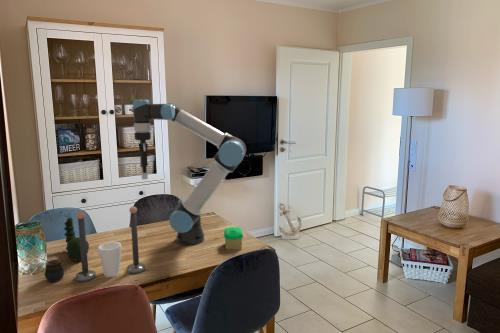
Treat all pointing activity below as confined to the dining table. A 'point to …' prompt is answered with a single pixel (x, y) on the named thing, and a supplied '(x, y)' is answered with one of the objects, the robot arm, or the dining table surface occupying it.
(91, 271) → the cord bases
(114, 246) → the foam cup
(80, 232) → the dark gray rod
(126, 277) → the dining table surface
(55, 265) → the mate gourd
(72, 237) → the toy figurine
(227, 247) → the cake
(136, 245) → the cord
